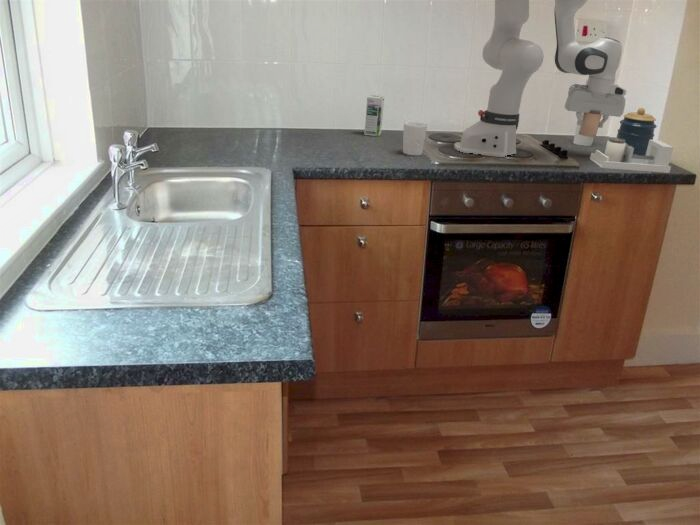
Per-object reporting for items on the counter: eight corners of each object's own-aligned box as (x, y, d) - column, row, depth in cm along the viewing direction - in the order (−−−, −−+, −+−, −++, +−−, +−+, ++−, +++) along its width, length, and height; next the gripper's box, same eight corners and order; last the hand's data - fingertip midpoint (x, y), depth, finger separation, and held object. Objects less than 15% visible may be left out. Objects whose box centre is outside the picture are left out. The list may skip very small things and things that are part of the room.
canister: (607, 153, 244) (617, 106, 237) (620, 149, 253) (631, 103, 246) (641, 160, 236) (653, 112, 229) (653, 156, 245) (665, 109, 238)
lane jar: (606, 166, 221) (612, 140, 217) (599, 161, 226) (605, 136, 223) (623, 167, 221) (629, 141, 217) (616, 163, 226) (622, 137, 223)
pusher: (626, 167, 219) (631, 147, 216) (615, 160, 228) (620, 141, 225) (656, 170, 219) (662, 149, 216) (644, 162, 228) (649, 143, 225)
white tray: (602, 169, 218) (608, 143, 214) (589, 160, 230) (595, 135, 226) (668, 174, 218) (676, 148, 214) (652, 165, 230) (659, 139, 226)
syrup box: (363, 135, 243) (366, 96, 237) (366, 132, 248) (370, 94, 242) (378, 136, 242) (382, 97, 236) (381, 133, 247) (384, 95, 241)
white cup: (426, 152, 223) (429, 123, 219) (420, 157, 216) (424, 127, 212) (404, 149, 225) (407, 121, 221) (398, 154, 218) (401, 124, 214)
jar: (581, 135, 228) (588, 110, 224) (576, 132, 233) (582, 107, 230) (598, 137, 228) (604, 112, 224) (592, 134, 233) (598, 109, 230)
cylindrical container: (592, 146, 253) (607, 81, 243) (574, 144, 254) (587, 80, 244) (590, 143, 260) (604, 79, 250) (572, 141, 261) (585, 78, 251)
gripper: (573, 84, 221) (563, 124, 226) (631, 91, 222) (620, 131, 227) (567, 82, 227) (558, 121, 232) (623, 89, 228) (613, 128, 233)
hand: (589, 126), depth 229 cm, fingers closed on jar, 6 cm apart
